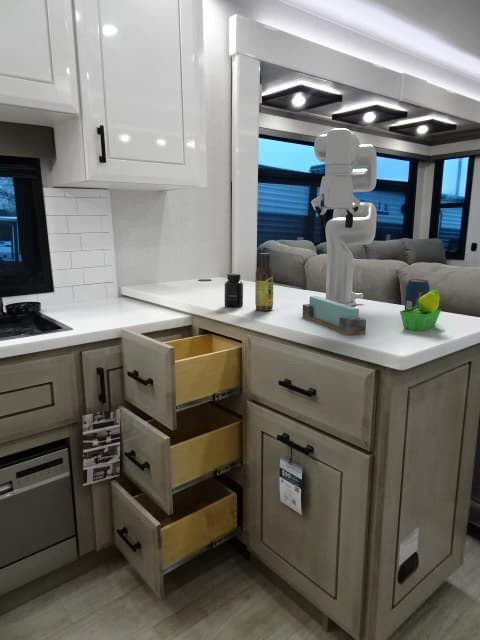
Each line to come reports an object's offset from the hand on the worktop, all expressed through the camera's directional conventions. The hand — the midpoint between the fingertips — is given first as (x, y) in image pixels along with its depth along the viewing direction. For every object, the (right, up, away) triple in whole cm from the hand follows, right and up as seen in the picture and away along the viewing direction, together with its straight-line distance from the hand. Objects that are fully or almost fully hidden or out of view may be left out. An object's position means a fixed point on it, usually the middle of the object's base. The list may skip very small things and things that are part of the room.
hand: (335, 227), depth 143 cm
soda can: (+26, -29, 0) cm, 39 cm away
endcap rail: (-3, -31, -9) cm, 32 cm away
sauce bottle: (-22, -26, +15) cm, 37 cm away
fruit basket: (+22, -32, -14) cm, 41 cm away
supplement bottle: (-33, -25, +22) cm, 47 cm away
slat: (-3, -30, -9) cm, 31 cm away
